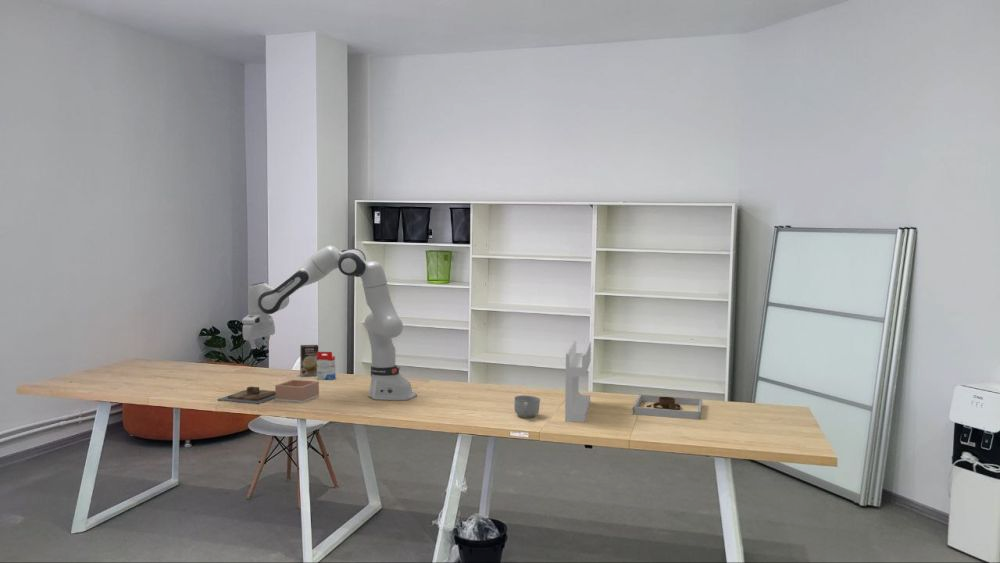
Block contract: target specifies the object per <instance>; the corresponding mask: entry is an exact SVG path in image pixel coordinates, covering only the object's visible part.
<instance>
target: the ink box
mask: <svg viewBox="0 0 1000 563" xmlns="http://www.w3.org/2000/svg"><path fill="white" fill-rule="evenodd" d="M316 378H317V380H321V381H322V380H323V381H324V380H325V381H326V380H327V381H328V380H329V381H333V380H335V379H336V355H333V351H318V352H317V376H316Z"/></svg>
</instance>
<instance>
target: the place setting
mask: <svg viewBox="0 0 1000 563" xmlns="http://www.w3.org/2000/svg"><path fill="white" fill-rule="evenodd" d="M672 397H673V396H671V397H660V398H659V402H658V403H657V402H653V404H649V405H646V408H656V409H669V410H680V409H681V404H676V403H675V398H672ZM659 406H660V407H659Z"/></svg>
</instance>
